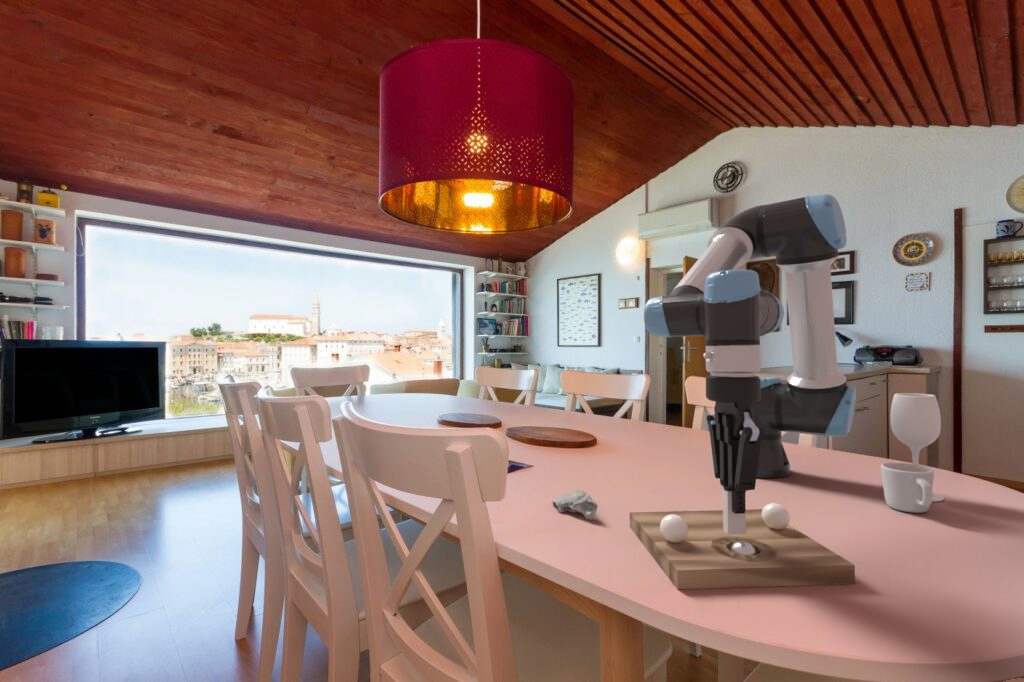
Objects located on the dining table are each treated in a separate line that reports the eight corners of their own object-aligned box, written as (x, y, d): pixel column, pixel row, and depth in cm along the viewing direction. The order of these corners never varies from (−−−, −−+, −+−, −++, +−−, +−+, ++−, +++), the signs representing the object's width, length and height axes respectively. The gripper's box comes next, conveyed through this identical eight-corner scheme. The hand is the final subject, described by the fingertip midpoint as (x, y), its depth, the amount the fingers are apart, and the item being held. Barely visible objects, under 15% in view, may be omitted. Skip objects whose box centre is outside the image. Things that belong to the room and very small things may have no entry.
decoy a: (756, 524, 80) (756, 499, 80) (780, 523, 80) (780, 499, 80) (770, 533, 76) (770, 508, 76) (795, 533, 76) (795, 507, 76)
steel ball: (723, 547, 73) (730, 539, 70) (746, 543, 73) (753, 535, 70) (733, 572, 71) (740, 564, 68) (756, 568, 71) (764, 560, 68)
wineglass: (893, 486, 108) (891, 391, 108) (945, 495, 102) (944, 394, 102) (886, 495, 102) (884, 394, 102) (941, 505, 96) (940, 397, 96)
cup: (955, 523, 86) (955, 477, 86) (904, 520, 88) (903, 475, 88) (918, 503, 97) (917, 463, 97) (872, 501, 98) (872, 461, 98)
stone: (565, 526, 88) (565, 503, 88) (549, 502, 100) (549, 482, 100) (600, 524, 89) (600, 501, 89) (579, 501, 101) (580, 481, 101)
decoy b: (656, 536, 75) (656, 510, 75) (682, 536, 75) (681, 510, 75) (665, 547, 71) (665, 520, 71) (692, 547, 71) (692, 519, 71)
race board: (629, 526, 86) (629, 512, 86) (763, 523, 87) (762, 509, 87) (677, 589, 64) (677, 570, 64) (855, 583, 65) (854, 564, 65)
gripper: (690, 372, 80) (691, 517, 79) (729, 377, 66) (731, 551, 66) (735, 371, 80) (737, 516, 80) (782, 376, 67) (785, 549, 67)
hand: (734, 532), depth 73 cm, fingers closed
